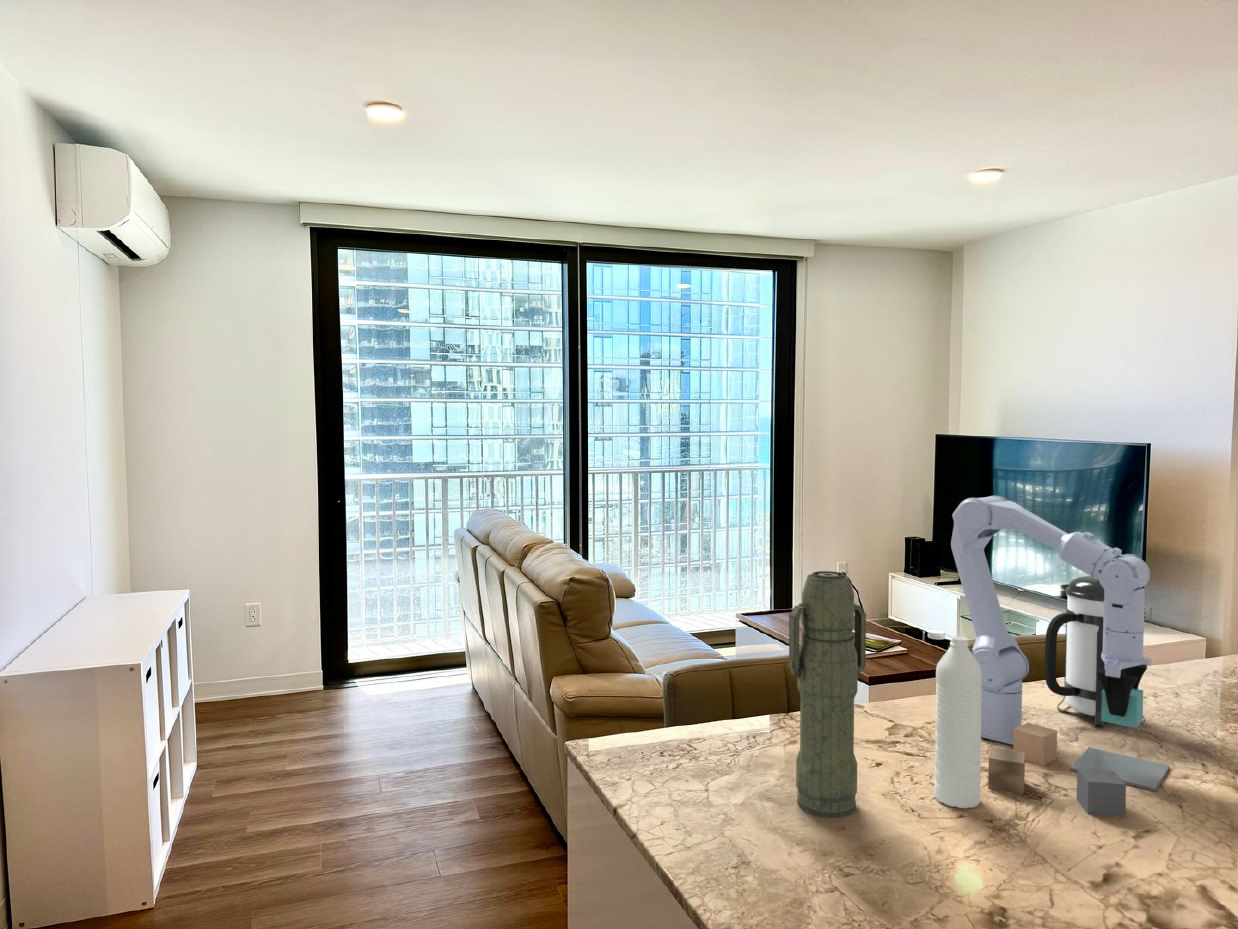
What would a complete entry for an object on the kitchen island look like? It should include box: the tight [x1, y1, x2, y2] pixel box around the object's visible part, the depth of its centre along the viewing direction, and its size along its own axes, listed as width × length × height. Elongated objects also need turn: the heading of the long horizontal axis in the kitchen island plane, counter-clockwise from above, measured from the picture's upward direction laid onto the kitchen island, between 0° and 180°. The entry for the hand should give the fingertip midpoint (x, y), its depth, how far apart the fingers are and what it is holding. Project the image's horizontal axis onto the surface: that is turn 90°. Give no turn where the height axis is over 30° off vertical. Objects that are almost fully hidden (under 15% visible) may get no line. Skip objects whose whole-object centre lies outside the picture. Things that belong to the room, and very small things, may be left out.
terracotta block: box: [1013, 722, 1058, 767], centre depth 143 cm, size 5×5×5 cm
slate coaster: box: [1069, 747, 1170, 792], centre depth 138 cm, size 12×12×1 cm
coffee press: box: [1044, 575, 1146, 729], centre depth 162 cm, size 17×16×30 cm
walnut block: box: [987, 746, 1026, 796], centre depth 132 cm, size 5×5×5 cm
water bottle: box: [927, 629, 982, 809], centre depth 128 cm, size 9×6×25 cm
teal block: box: [1101, 688, 1144, 729], centre depth 138 cm, size 5×5×5 cm
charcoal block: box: [1076, 768, 1127, 818], centre depth 124 cm, size 5×5×5 cm
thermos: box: [788, 570, 867, 818], centre depth 125 cm, size 9×12×35 cm
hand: (1121, 710), depth 138 cm, fingers closed on teal block, 5 cm apart
